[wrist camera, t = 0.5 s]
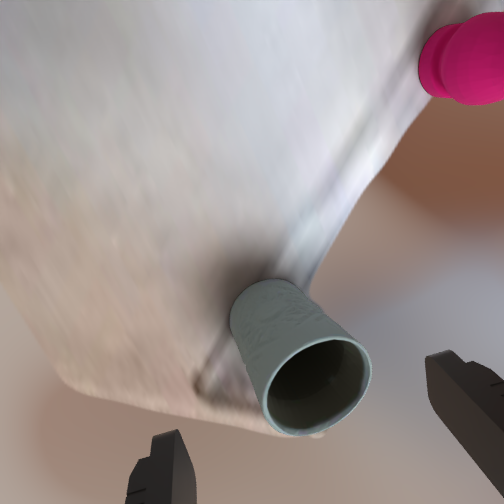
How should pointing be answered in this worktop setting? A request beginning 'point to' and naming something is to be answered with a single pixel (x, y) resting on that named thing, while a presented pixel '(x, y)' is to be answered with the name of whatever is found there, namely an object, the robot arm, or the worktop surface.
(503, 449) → the robot arm
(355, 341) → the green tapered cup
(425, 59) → the pepper mill
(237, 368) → the worktop surface
